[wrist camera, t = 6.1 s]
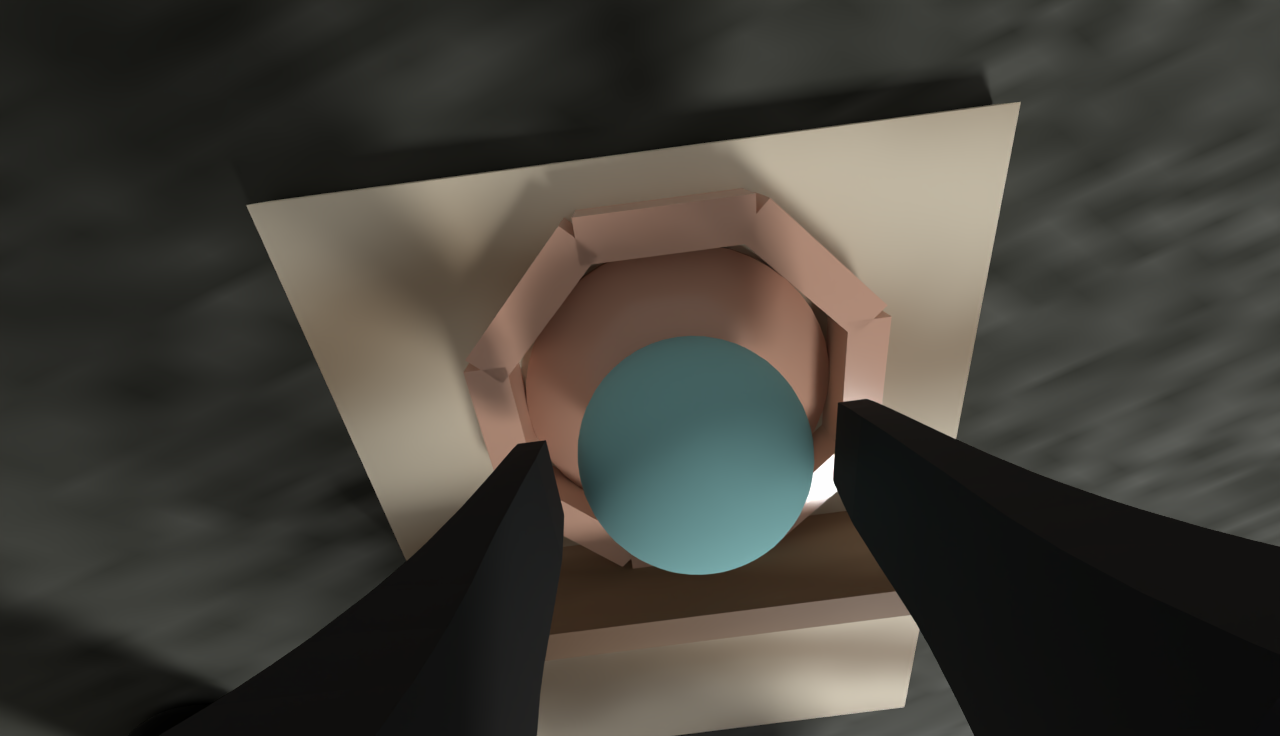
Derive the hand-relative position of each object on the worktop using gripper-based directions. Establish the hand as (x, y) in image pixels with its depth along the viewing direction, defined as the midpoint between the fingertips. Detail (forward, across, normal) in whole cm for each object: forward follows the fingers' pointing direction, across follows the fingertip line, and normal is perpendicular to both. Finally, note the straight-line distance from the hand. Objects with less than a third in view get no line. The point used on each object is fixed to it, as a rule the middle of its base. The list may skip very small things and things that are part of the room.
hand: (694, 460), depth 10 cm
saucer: (+3, 0, 0) cm, 3 cm away
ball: (+3, 0, 0) cm, 3 cm away
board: (+4, 0, +5) cm, 6 cm away
